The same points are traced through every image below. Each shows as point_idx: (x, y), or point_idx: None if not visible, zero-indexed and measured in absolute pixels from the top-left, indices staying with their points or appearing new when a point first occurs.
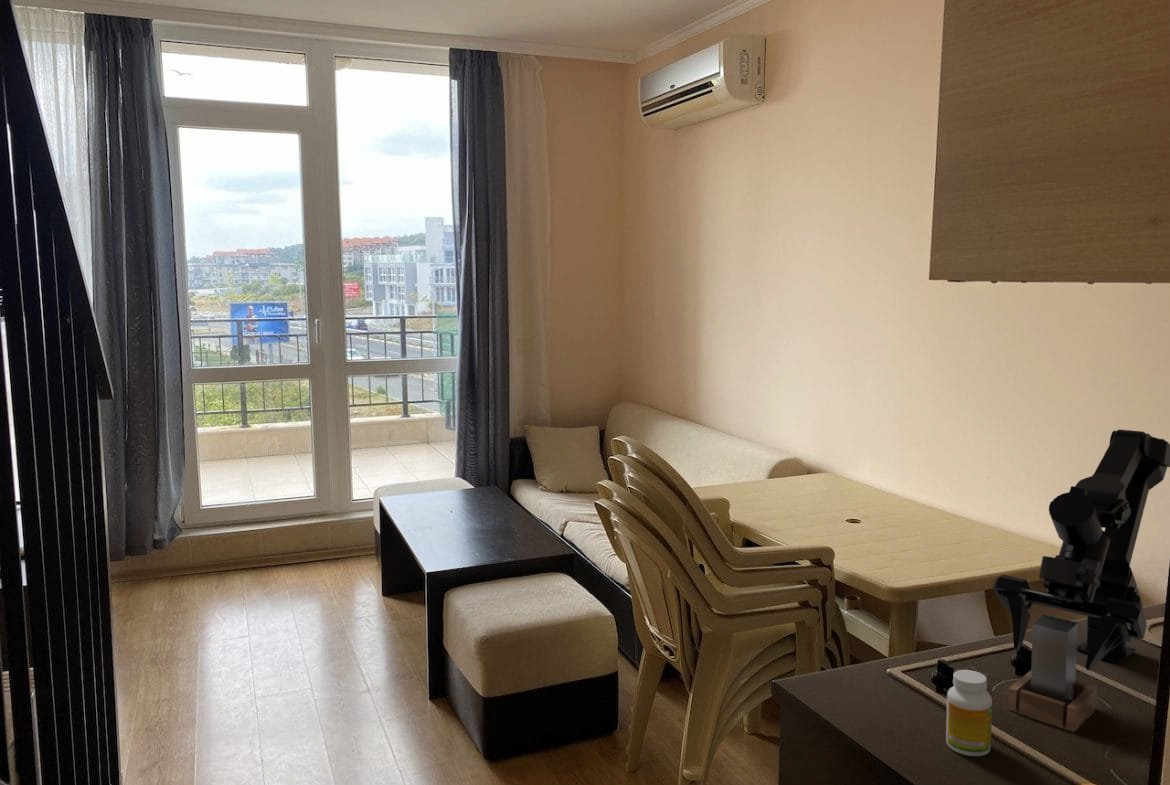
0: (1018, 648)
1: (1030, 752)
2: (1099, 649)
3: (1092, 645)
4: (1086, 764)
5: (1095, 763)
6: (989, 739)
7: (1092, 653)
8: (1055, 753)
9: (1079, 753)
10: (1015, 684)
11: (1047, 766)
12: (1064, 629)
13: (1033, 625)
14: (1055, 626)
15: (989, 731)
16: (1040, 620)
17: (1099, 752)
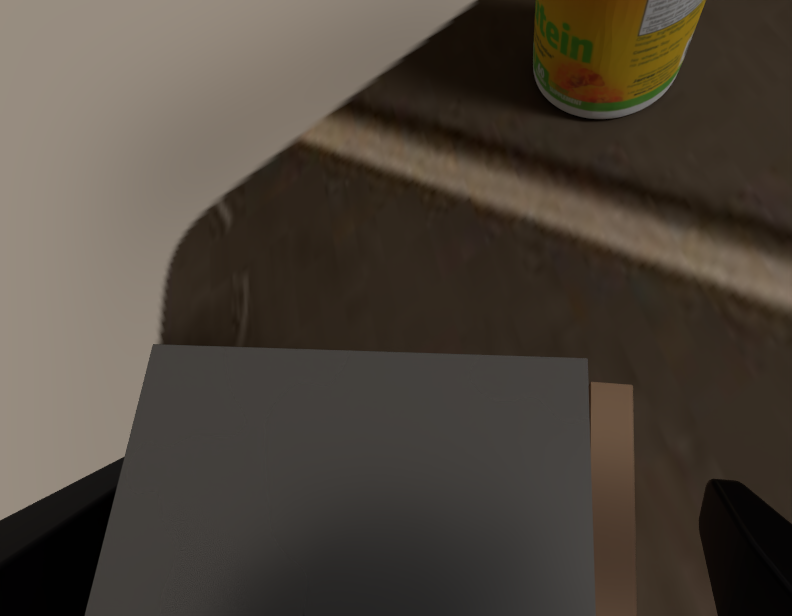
0: (705, 522)
1: (435, 160)
2: (6, 518)
3: (39, 537)
4: (287, 202)
5: (267, 224)
6: (534, 31)
7: (86, 486)
8: (372, 203)
9: (312, 249)
10: (625, 458)
11: (376, 123)
12: (188, 430)
13: (574, 359)
14: (296, 462)
15: (535, 3)
16: (548, 607)
17: (262, 295)
